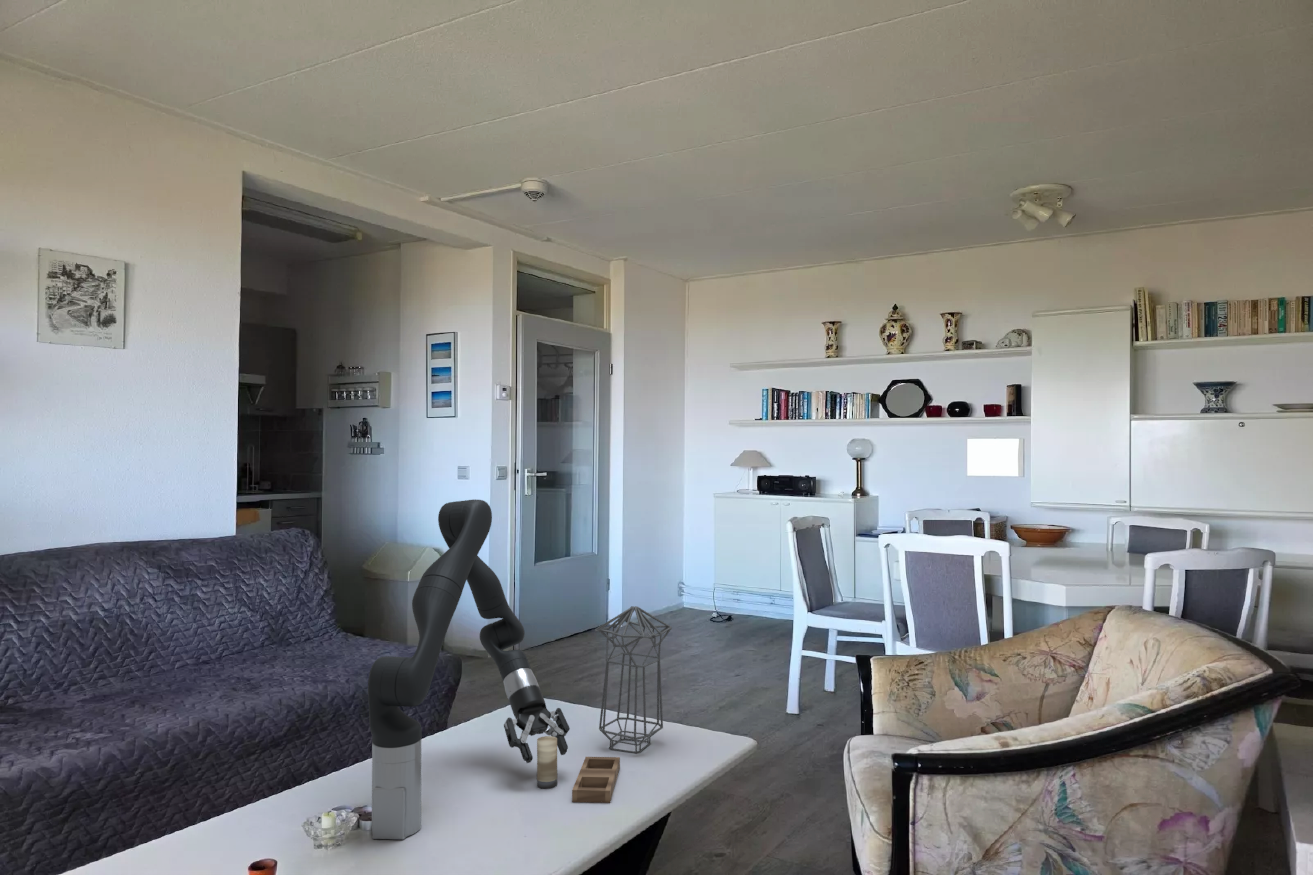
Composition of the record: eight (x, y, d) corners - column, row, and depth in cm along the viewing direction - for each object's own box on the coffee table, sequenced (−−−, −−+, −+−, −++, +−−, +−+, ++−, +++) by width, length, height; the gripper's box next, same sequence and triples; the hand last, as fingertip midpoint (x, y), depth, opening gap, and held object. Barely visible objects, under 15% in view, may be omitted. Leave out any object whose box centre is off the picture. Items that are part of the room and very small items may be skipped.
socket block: (610, 802, 179) (610, 790, 179) (572, 802, 179) (572, 790, 179) (619, 768, 199) (619, 757, 199) (585, 767, 199) (585, 756, 199)
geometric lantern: (618, 733, 224) (621, 599, 225) (672, 743, 217) (676, 605, 218) (587, 751, 210) (591, 608, 211) (644, 762, 203) (648, 614, 204)
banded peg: (555, 789, 186) (555, 742, 186) (535, 788, 187) (535, 742, 187) (558, 781, 191) (558, 736, 191) (539, 781, 191) (539, 736, 191)
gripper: (500, 689, 192) (523, 755, 182) (556, 679, 200) (581, 742, 191) (490, 707, 196) (512, 772, 187) (545, 697, 204) (569, 759, 195)
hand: (547, 757), depth 189 cm, fingers open, 8 cm apart
